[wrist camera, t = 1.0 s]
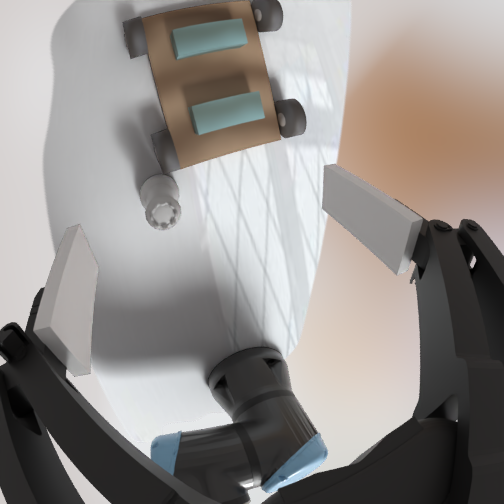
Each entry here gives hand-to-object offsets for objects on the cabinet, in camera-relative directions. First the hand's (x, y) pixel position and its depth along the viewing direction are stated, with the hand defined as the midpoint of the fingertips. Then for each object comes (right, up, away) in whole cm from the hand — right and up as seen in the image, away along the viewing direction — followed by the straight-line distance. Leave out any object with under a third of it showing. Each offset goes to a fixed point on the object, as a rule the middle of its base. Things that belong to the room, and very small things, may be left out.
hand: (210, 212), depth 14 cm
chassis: (-2, +17, +12) cm, 21 cm away
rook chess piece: (-8, +5, +16) cm, 19 cm away
